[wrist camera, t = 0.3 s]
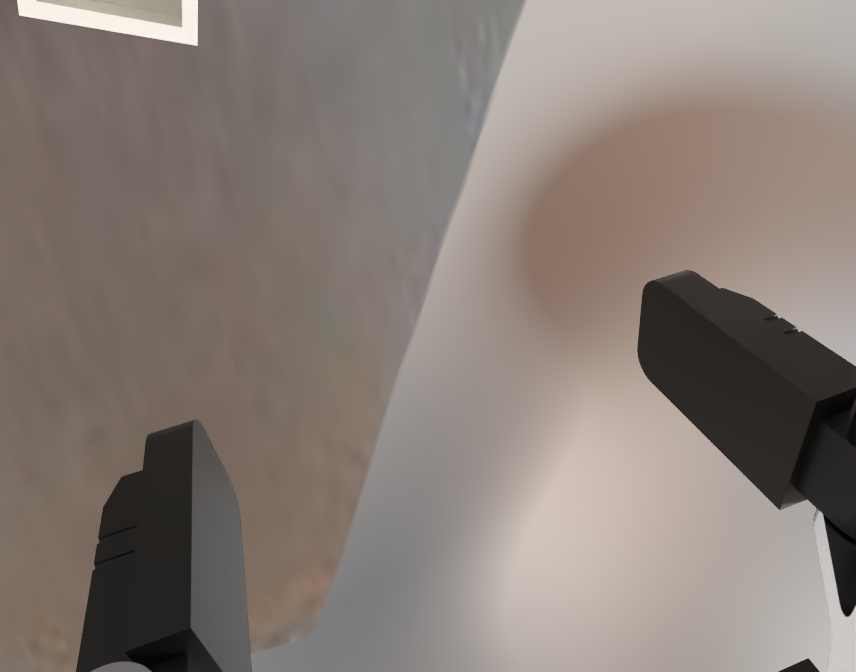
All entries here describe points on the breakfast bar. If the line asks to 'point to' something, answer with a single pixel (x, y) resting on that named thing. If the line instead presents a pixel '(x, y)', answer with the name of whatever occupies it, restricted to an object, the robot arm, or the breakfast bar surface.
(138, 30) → the pot white
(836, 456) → the robot arm
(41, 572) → the breakfast bar surface
